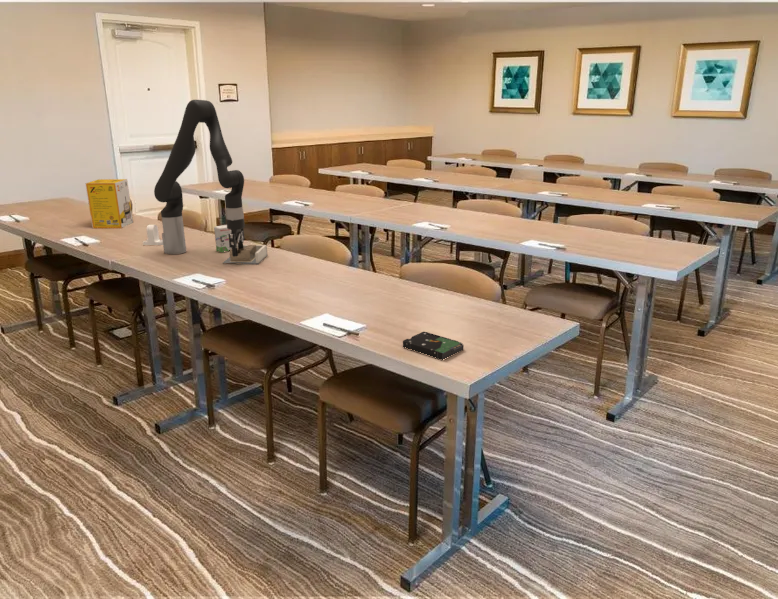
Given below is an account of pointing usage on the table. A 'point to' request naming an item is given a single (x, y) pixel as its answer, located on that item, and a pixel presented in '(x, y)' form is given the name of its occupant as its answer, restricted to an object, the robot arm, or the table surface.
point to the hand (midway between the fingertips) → (238, 253)
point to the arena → (259, 255)
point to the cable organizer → (153, 236)
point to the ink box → (222, 238)
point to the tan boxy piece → (244, 253)
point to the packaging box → (109, 203)
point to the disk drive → (433, 345)
